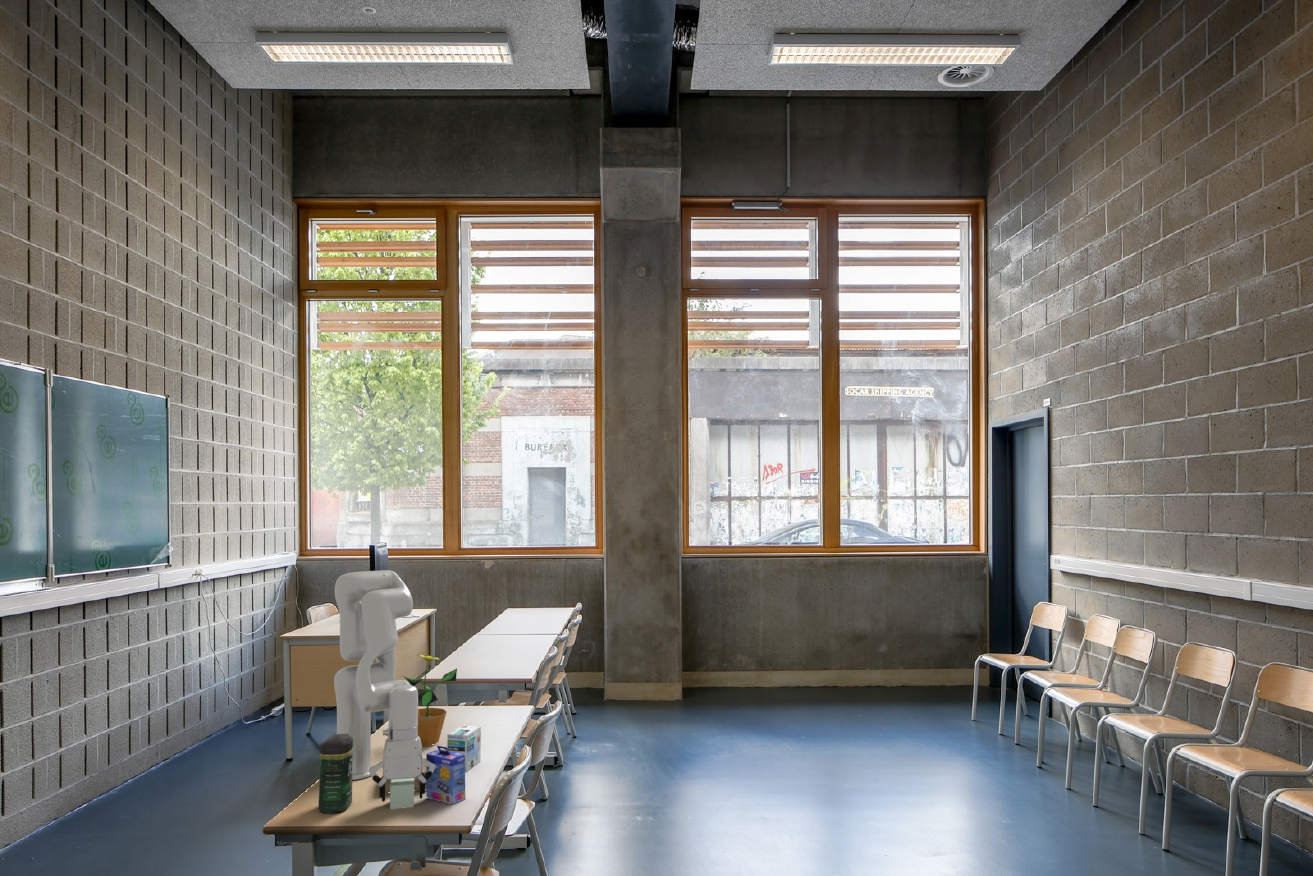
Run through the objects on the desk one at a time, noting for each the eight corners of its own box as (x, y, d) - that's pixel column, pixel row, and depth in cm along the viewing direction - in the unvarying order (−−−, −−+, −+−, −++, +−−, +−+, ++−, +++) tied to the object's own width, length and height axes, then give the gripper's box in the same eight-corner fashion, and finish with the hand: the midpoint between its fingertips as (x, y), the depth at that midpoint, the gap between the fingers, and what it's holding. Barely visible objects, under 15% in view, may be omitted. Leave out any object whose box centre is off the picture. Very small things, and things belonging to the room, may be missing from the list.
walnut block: (384, 793, 249) (385, 775, 250) (387, 780, 261) (387, 762, 261) (429, 790, 252) (429, 771, 252) (429, 776, 264) (430, 759, 264)
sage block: (390, 809, 237) (390, 786, 237) (391, 802, 243) (391, 779, 243) (413, 807, 239) (413, 784, 239) (414, 800, 244) (414, 777, 245)
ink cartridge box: (424, 799, 245) (425, 744, 246) (439, 793, 250) (439, 739, 251) (451, 805, 240) (452, 750, 241) (466, 799, 245) (466, 744, 246)
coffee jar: (346, 813, 234) (347, 741, 235) (315, 814, 234) (316, 741, 235) (355, 800, 244) (356, 731, 245) (325, 801, 243) (326, 731, 244)
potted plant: (448, 751, 289) (449, 656, 291) (390, 750, 290) (392, 656, 291) (462, 735, 307) (462, 646, 309) (407, 735, 308) (408, 646, 309)
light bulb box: (467, 772, 268) (467, 735, 269) (446, 771, 269) (446, 734, 270) (481, 761, 278) (481, 726, 279) (460, 760, 280) (461, 724, 280)
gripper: (368, 739, 236) (367, 806, 235) (436, 734, 240) (435, 800, 239) (370, 732, 243) (369, 796, 242) (436, 727, 247) (435, 791, 247)
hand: (402, 798), depth 241 cm, fingers open, 9 cm apart
